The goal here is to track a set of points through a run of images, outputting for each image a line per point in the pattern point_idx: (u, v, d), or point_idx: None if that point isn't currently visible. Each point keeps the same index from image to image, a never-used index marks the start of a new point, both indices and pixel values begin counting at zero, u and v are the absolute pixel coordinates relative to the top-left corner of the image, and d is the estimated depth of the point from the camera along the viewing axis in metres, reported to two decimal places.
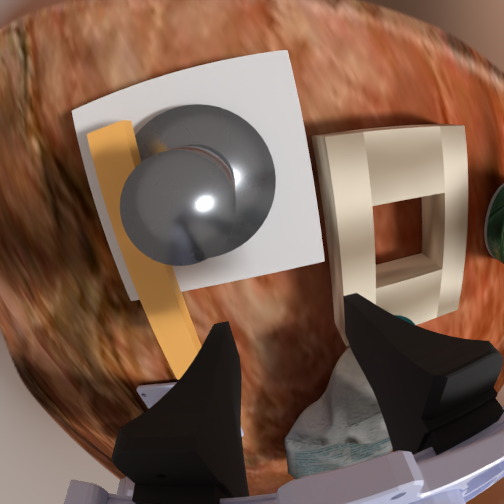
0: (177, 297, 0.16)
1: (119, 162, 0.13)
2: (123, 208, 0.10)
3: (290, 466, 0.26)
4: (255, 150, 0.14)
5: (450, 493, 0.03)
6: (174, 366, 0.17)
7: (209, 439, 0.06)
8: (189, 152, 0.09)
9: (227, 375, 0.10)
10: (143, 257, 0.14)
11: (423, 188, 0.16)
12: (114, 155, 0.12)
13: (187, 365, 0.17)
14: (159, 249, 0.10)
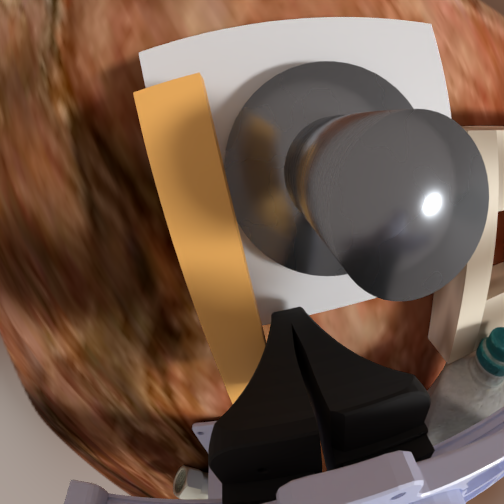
0: (264, 339, 0.11)
1: (190, 139, 0.08)
2: (339, 200, 0.05)
3: None
4: None
5: (450, 493, 0.03)
6: None
7: None
8: (450, 120, 0.05)
9: None
10: (221, 288, 0.10)
11: None
12: (182, 127, 0.08)
13: None
14: (386, 276, 0.06)
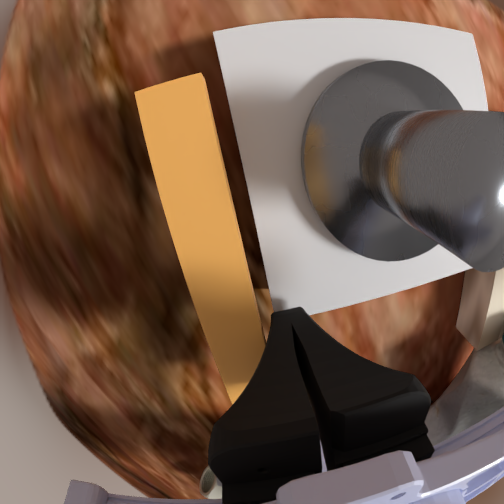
0: (264, 340, 0.11)
1: (191, 139, 0.08)
2: (457, 180, 0.05)
3: None
4: None
5: (450, 493, 0.03)
6: None
7: None
8: None
9: None
10: (221, 288, 0.10)
11: None
12: (183, 127, 0.08)
13: None
14: (480, 249, 0.06)
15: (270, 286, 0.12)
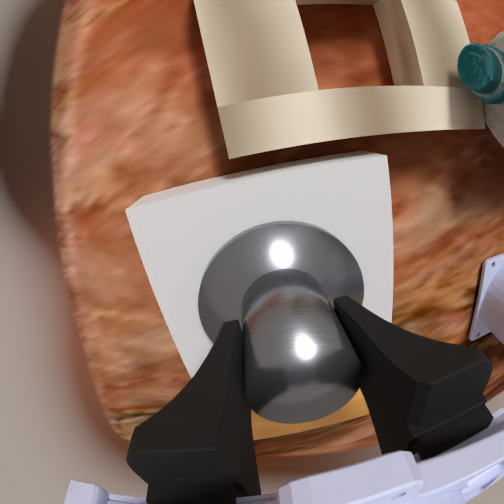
0: None
1: (268, 426, 0.16)
2: (295, 421, 0.10)
3: None
4: (248, 248, 0.13)
5: (450, 493, 0.03)
6: None
7: (226, 437, 0.06)
8: (248, 381, 0.09)
9: (239, 373, 0.10)
10: (348, 410, 0.16)
11: (288, 14, 0.10)
12: (262, 429, 0.16)
13: None
14: (340, 398, 0.10)
15: None
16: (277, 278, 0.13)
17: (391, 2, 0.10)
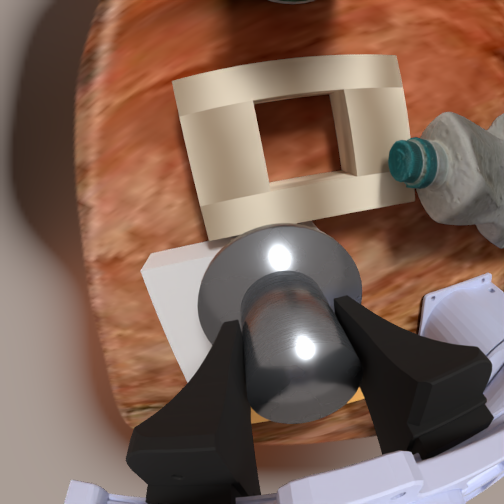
0: None
1: None
2: (295, 421, 0.10)
3: None
4: (249, 249, 0.13)
5: (450, 493, 0.03)
6: None
7: (226, 437, 0.06)
8: (250, 380, 0.09)
9: (238, 373, 0.10)
10: None
11: (250, 131, 0.16)
12: None
13: None
14: (340, 397, 0.10)
15: None
16: (277, 279, 0.13)
17: (340, 99, 0.17)
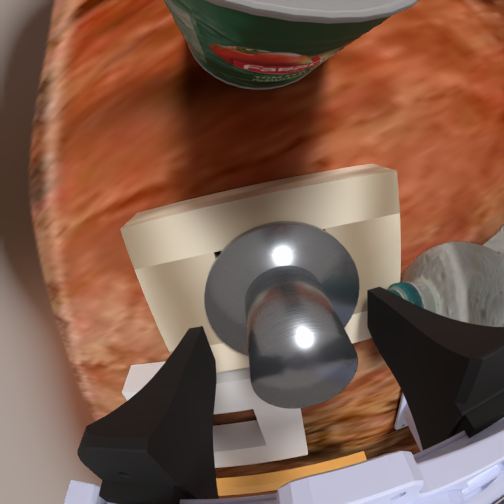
0: (304, 474, 0.21)
1: (224, 490, 0.21)
2: (294, 406, 0.11)
3: None
4: (255, 244, 0.14)
5: (450, 493, 0.03)
6: None
7: (166, 441, 0.06)
8: (254, 364, 0.10)
9: (197, 379, 0.10)
10: (276, 486, 0.21)
11: None
12: (220, 491, 0.21)
13: None
14: (336, 385, 0.11)
15: (287, 458, 0.23)
16: (281, 273, 0.14)
17: None
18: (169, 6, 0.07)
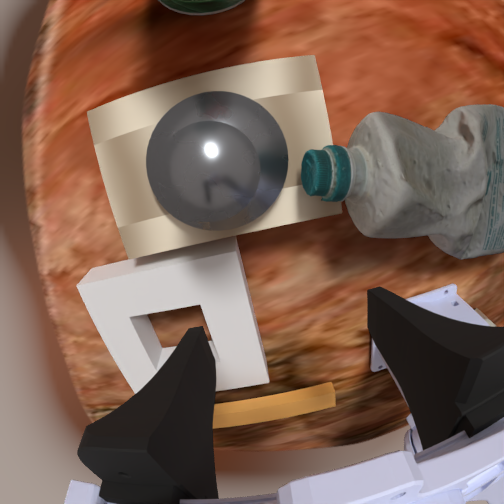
0: (264, 404, 0.22)
1: None
2: (203, 218, 0.12)
3: (503, 251, 0.20)
4: (188, 108, 0.15)
5: (450, 493, 0.03)
6: (321, 407, 0.22)
7: (166, 442, 0.06)
8: (160, 158, 0.11)
9: (197, 379, 0.10)
10: (234, 418, 0.22)
11: None
12: None
13: (322, 401, 0.22)
14: (242, 190, 0.12)
15: (247, 385, 0.24)
16: None
17: None
18: None
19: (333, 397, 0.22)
